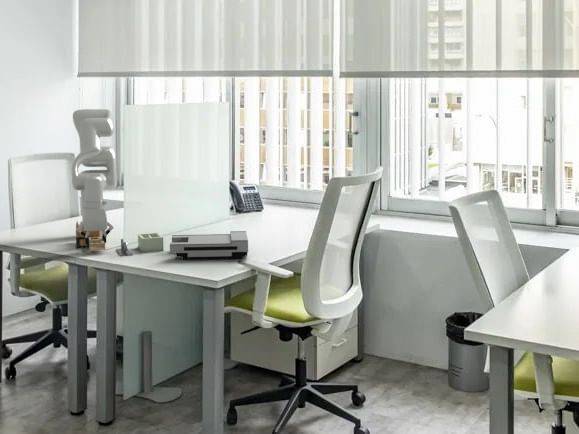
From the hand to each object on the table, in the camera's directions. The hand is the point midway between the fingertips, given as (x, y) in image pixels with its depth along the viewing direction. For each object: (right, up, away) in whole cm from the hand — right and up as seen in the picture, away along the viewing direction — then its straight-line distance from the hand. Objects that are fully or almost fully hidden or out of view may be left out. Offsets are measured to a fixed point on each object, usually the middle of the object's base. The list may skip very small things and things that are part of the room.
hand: (95, 245), depth 325 cm
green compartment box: (+23, -2, +5) cm, 23 cm away
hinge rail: (+13, -3, -2) cm, 13 cm away
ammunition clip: (-5, -2, +8) cm, 10 cm away
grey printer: (+50, -4, -6) cm, 50 cm away
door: (0, -1, 0) cm, 1 cm away
